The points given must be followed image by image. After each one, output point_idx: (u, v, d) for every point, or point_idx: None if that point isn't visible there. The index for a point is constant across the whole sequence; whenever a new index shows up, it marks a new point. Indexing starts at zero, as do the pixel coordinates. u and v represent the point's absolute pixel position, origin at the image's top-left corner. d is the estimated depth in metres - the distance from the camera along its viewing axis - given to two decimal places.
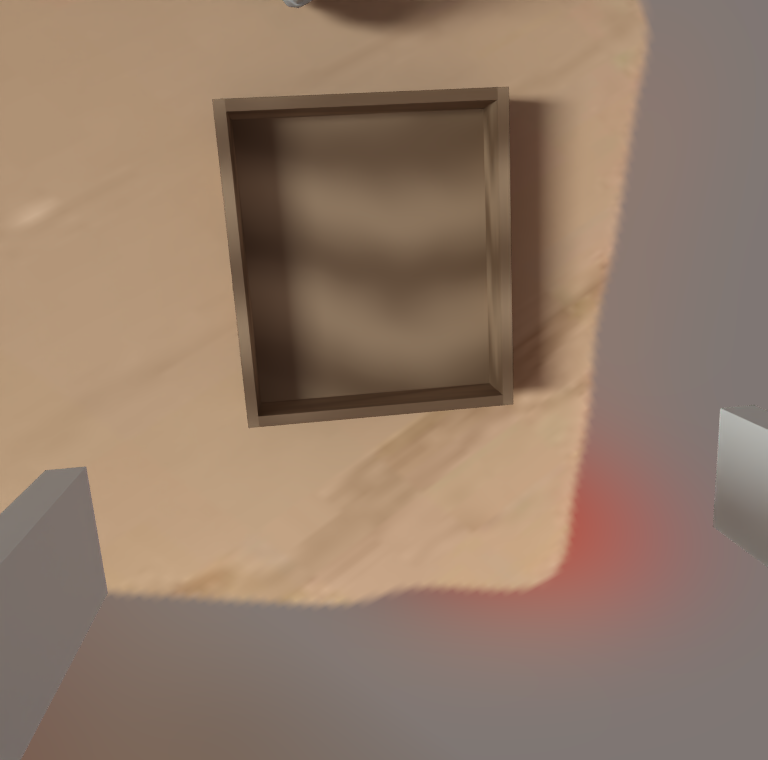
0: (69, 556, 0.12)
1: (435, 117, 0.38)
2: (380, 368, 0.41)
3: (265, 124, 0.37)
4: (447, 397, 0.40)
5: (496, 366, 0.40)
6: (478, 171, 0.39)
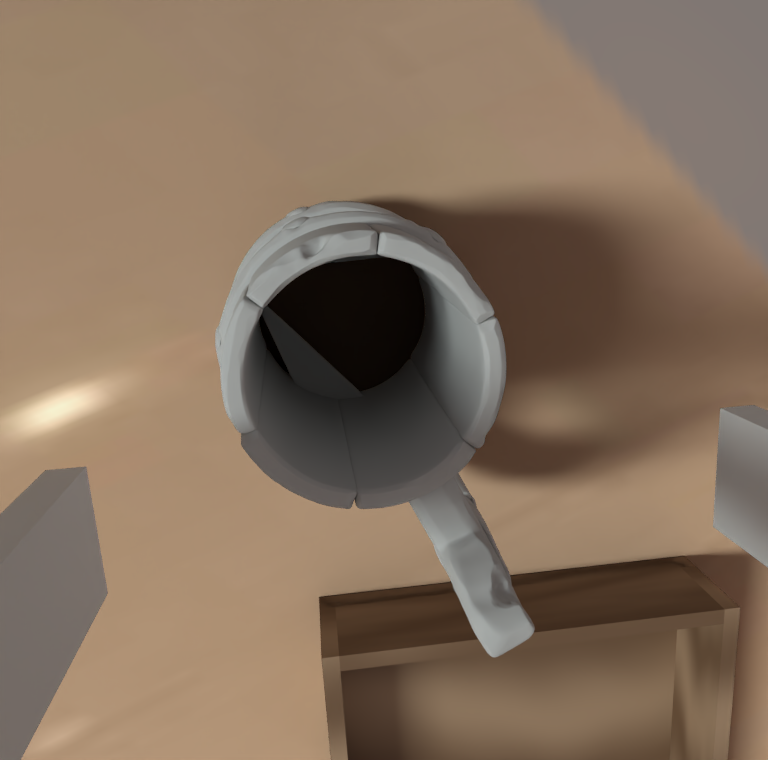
0: (69, 556, 0.12)
1: None
2: None
3: None
4: None
5: None
6: (667, 653, 0.29)
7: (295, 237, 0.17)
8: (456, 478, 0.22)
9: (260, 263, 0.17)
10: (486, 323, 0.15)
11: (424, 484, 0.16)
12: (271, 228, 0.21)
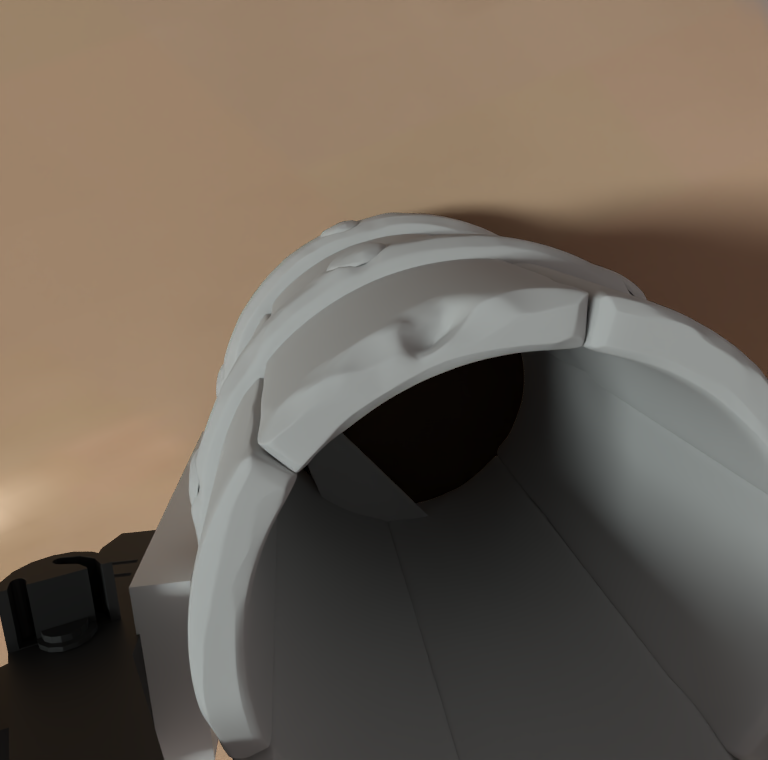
0: None
1: None
2: None
3: None
4: None
5: None
6: None
7: (360, 286, 0.08)
8: None
9: (285, 336, 0.08)
10: None
11: None
12: (296, 255, 0.13)
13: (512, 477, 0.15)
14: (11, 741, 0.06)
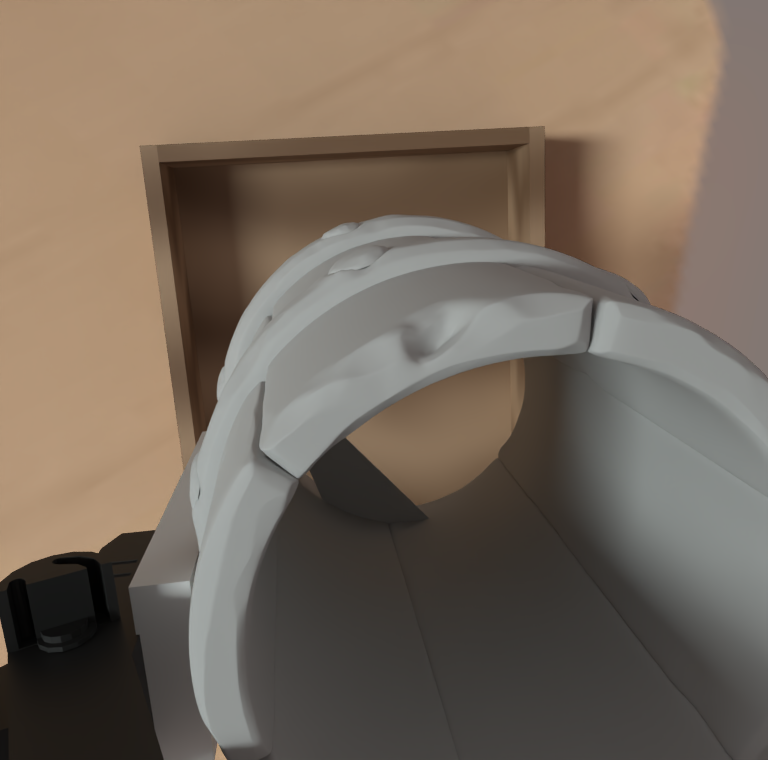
0: None
1: (444, 162, 0.29)
2: None
3: (219, 173, 0.28)
4: None
5: None
6: (500, 231, 0.30)
7: (362, 289, 0.08)
8: None
9: (286, 340, 0.08)
10: None
11: None
12: (297, 256, 0.13)
13: (513, 480, 0.15)
14: (11, 742, 0.06)
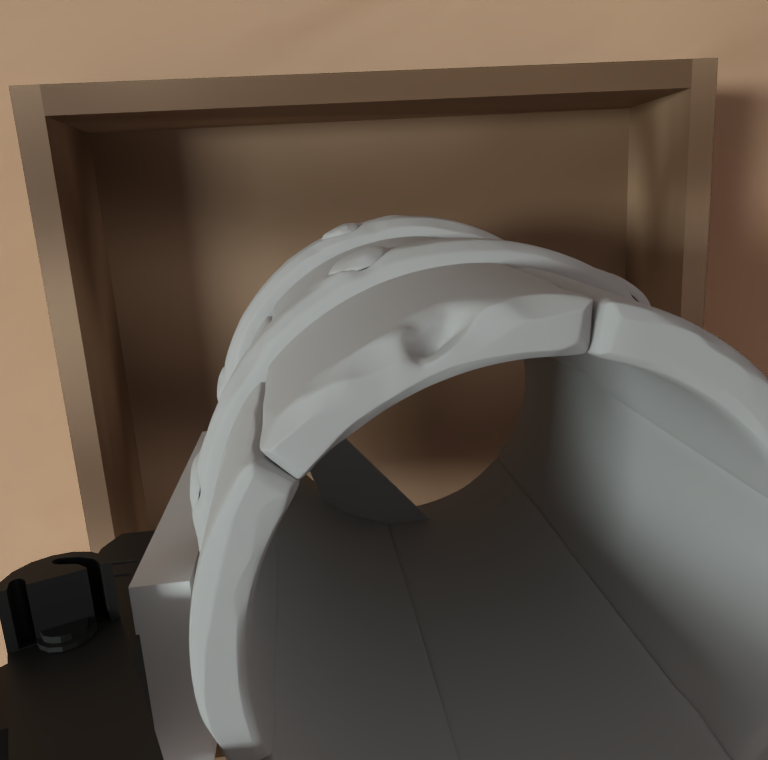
0: None
1: (530, 127, 0.18)
2: None
3: (164, 142, 0.17)
4: None
5: None
6: (613, 238, 0.19)
7: (362, 290, 0.08)
8: None
9: (287, 341, 0.08)
10: None
11: None
12: (297, 257, 0.13)
13: (513, 480, 0.15)
14: (11, 741, 0.06)
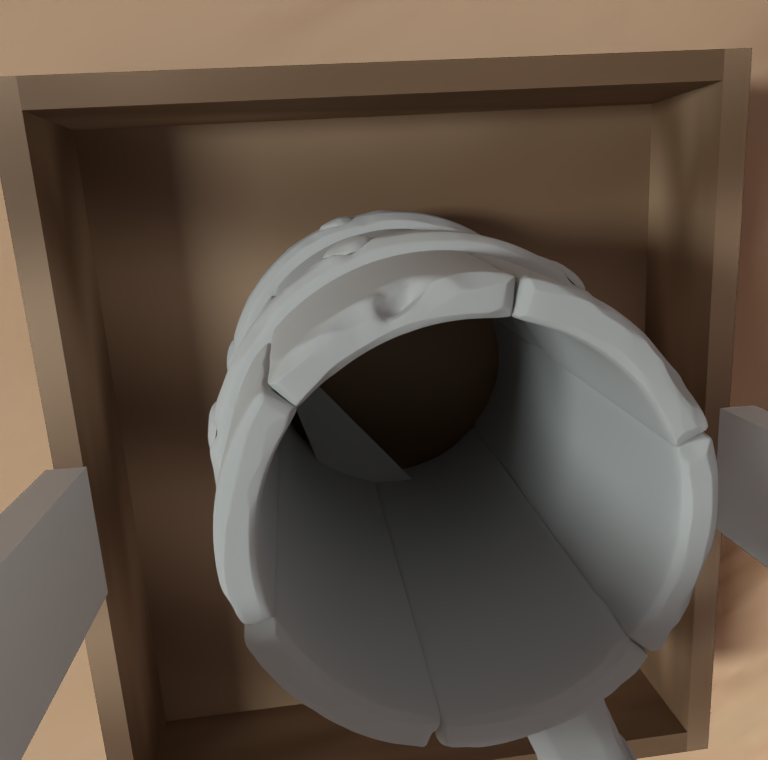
0: (69, 556, 0.12)
1: (545, 124, 0.17)
2: None
3: (154, 140, 0.16)
4: None
5: (664, 655, 0.19)
6: (634, 242, 0.18)
7: (349, 270, 0.10)
8: None
9: (288, 310, 0.10)
10: (692, 445, 0.08)
11: (557, 710, 0.09)
12: (298, 245, 0.15)
13: (485, 444, 0.17)
14: None
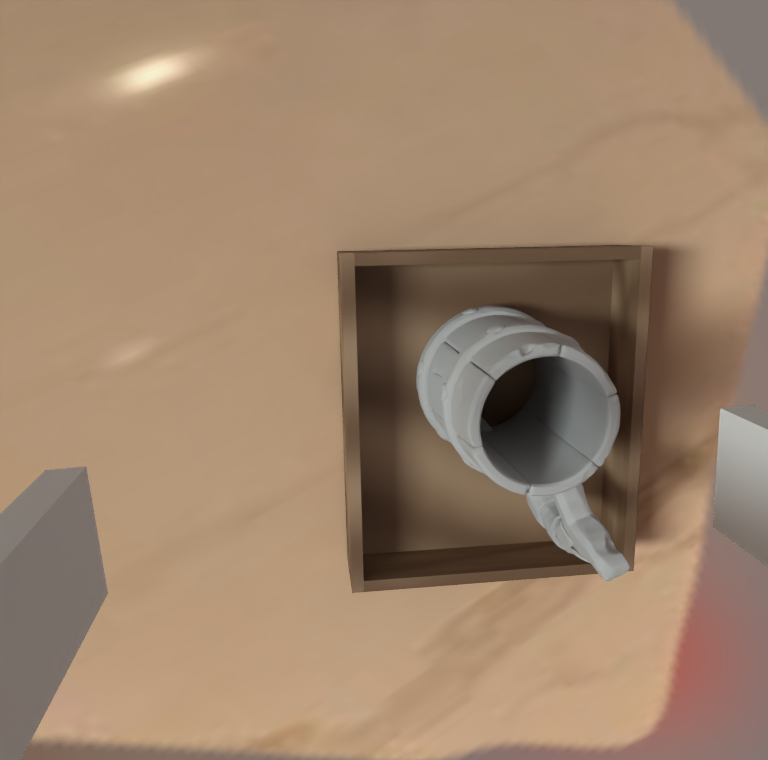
0: (69, 556, 0.12)
1: (563, 265, 0.36)
2: (486, 521, 0.39)
3: (385, 268, 0.35)
4: (563, 560, 0.37)
5: (614, 526, 0.38)
6: (603, 320, 0.37)
7: (499, 337, 0.29)
8: None
9: (477, 350, 0.29)
10: (612, 397, 0.27)
11: (568, 484, 0.28)
12: (454, 320, 0.34)
13: (530, 414, 0.36)
14: None
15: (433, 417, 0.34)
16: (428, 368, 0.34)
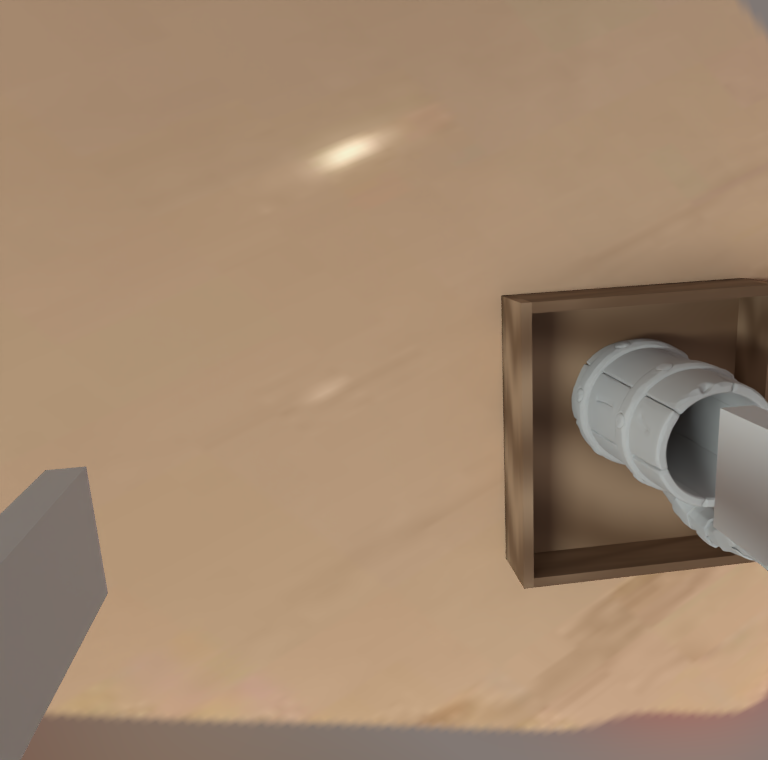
0: (69, 556, 0.12)
1: None
2: (627, 521, 0.44)
3: None
4: (699, 554, 0.43)
5: None
6: (730, 345, 0.42)
7: (670, 374, 0.34)
8: None
9: (651, 386, 0.34)
10: None
11: None
12: (611, 353, 0.39)
13: (672, 430, 0.41)
14: None
15: (592, 437, 0.40)
16: (589, 395, 0.39)
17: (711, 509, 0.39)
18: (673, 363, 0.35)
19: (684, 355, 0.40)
